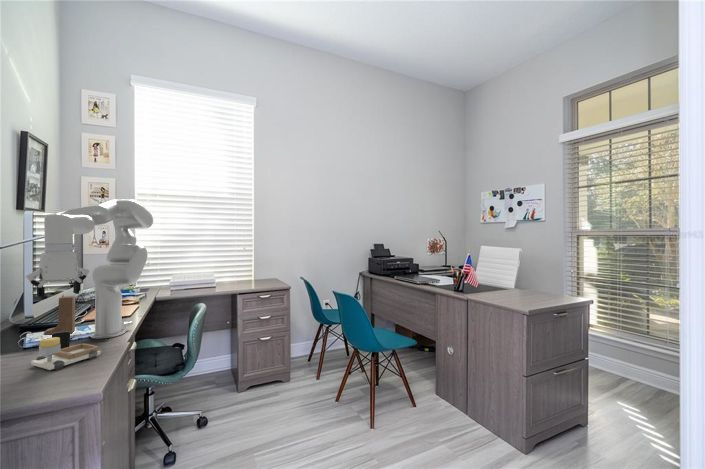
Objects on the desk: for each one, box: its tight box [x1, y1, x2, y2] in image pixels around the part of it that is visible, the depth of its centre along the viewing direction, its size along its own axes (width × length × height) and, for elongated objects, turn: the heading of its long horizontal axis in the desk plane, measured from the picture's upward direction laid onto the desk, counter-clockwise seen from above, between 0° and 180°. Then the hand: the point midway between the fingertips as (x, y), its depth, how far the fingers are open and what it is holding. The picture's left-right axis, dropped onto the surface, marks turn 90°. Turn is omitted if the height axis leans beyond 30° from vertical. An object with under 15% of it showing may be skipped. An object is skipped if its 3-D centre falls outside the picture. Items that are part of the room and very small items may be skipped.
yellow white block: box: [38, 337, 61, 357], centre depth 108 cm, size 5×5×4 cm
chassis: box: [30, 343, 102, 371], centre depth 113 cm, size 15×11×5 cm
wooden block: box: [43, 295, 76, 336], centre depth 136 cm, size 9×4×18 cm, turn 118°
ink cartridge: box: [52, 331, 71, 355], centre depth 121 cm, size 5×2×8 cm, turn 130°
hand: (59, 295), depth 115 cm, fingers open, 9 cm apart
